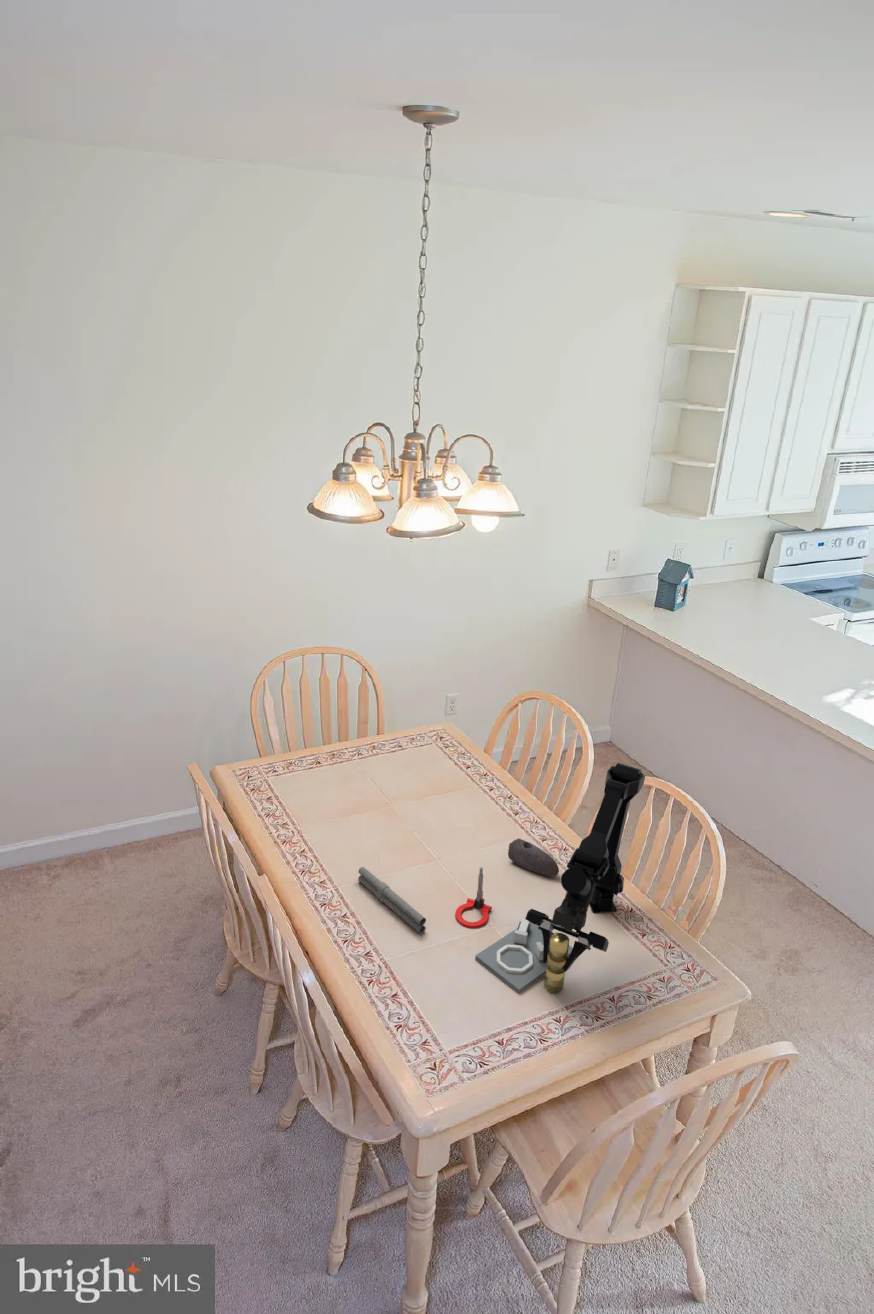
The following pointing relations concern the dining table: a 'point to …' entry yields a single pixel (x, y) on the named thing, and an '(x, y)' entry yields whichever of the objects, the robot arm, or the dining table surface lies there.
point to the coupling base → (517, 956)
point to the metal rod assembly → (392, 900)
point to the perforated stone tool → (532, 858)
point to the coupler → (556, 962)
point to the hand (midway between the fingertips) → (554, 967)
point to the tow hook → (477, 903)
